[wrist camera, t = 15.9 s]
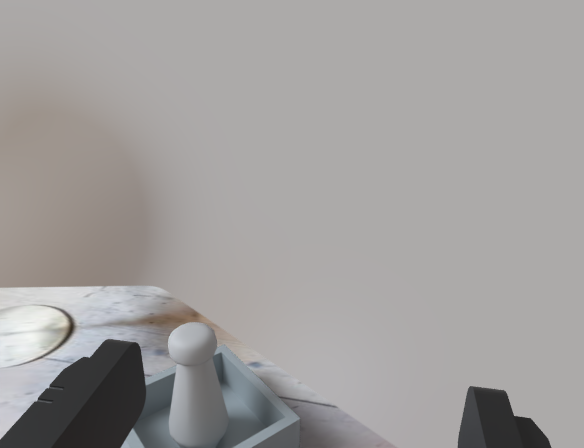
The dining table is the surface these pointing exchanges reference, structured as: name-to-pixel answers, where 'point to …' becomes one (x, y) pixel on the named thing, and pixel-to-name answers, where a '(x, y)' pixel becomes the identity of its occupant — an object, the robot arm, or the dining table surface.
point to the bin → (239, 403)
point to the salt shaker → (196, 389)
